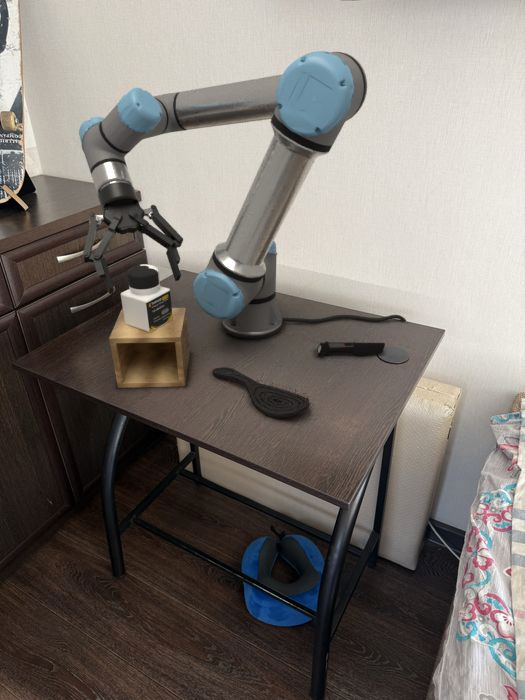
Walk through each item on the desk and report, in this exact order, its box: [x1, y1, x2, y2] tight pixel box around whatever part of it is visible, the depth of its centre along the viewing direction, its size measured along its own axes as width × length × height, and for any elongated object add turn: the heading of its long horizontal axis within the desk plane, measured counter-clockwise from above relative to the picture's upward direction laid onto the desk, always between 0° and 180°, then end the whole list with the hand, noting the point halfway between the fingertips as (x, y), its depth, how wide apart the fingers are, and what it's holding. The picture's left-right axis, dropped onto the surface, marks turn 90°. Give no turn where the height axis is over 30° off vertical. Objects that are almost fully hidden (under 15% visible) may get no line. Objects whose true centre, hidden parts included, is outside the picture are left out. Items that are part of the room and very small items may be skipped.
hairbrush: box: [212, 366, 311, 419], centre depth 102 cm, size 8×4×25 cm
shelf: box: [108, 307, 191, 389], centre depth 107 cm, size 14×13×12 cm
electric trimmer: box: [316, 340, 386, 358], centre depth 116 cm, size 4×16×3 cm, turn 91°
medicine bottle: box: [120, 263, 173, 332], centre depth 101 cm, size 7×7×12 cm
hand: (145, 284), depth 99 cm, fingers open, 13 cm apart
